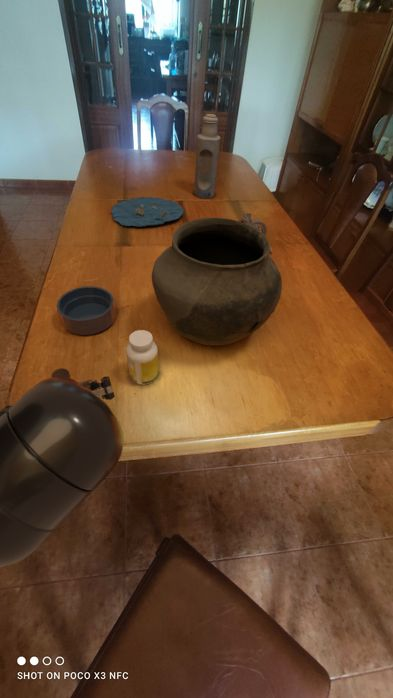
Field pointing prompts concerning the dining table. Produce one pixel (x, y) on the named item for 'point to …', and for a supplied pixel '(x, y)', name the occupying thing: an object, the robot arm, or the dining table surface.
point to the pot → (217, 281)
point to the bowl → (86, 310)
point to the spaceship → (255, 225)
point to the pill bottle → (142, 357)
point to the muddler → (61, 373)
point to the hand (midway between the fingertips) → (62, 395)
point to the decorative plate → (146, 211)
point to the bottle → (207, 158)
